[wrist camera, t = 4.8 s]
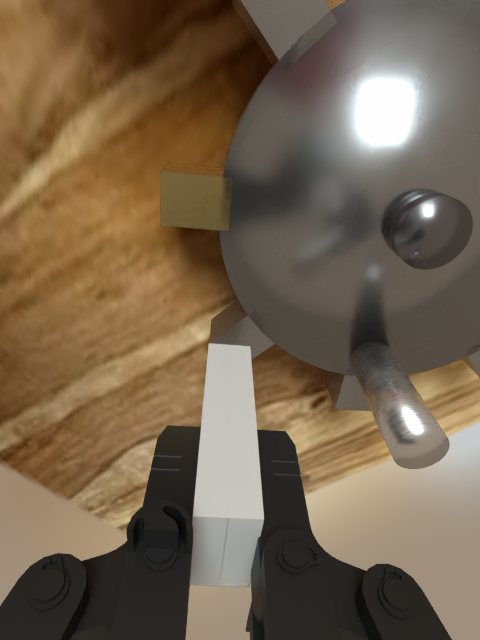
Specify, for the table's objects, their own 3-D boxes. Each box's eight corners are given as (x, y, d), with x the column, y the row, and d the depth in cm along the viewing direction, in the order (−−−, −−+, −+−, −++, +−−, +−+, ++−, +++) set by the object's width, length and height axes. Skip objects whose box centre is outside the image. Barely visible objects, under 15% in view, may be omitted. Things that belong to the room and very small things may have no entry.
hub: (302, 263, 17) (324, 310, 14) (330, 115, 14) (369, 121, 11) (428, 273, 18) (484, 321, 14) (480, 131, 15) (570, 142, 11)
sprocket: (168, 372, 19) (140, 499, 13) (168, -161, 10) (82, -546, 4) (505, 392, 20) (623, 515, 14) (769, -66, 11) (1375, -251, 5)
